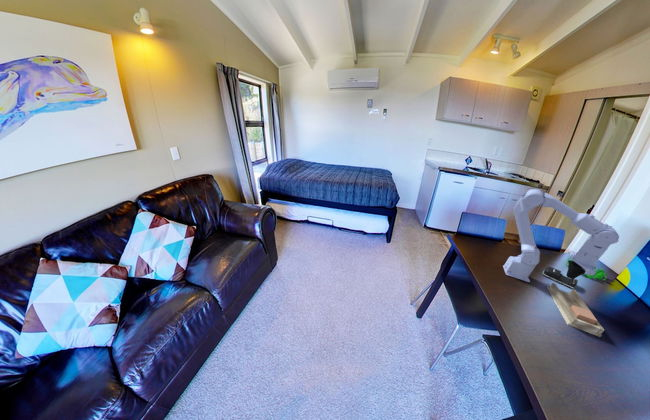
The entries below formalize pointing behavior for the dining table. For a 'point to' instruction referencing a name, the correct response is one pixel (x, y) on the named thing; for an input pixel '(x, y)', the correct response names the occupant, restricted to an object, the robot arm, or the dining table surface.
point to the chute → (565, 304)
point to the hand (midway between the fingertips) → (569, 277)
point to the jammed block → (584, 315)
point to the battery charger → (559, 277)
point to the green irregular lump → (598, 274)
